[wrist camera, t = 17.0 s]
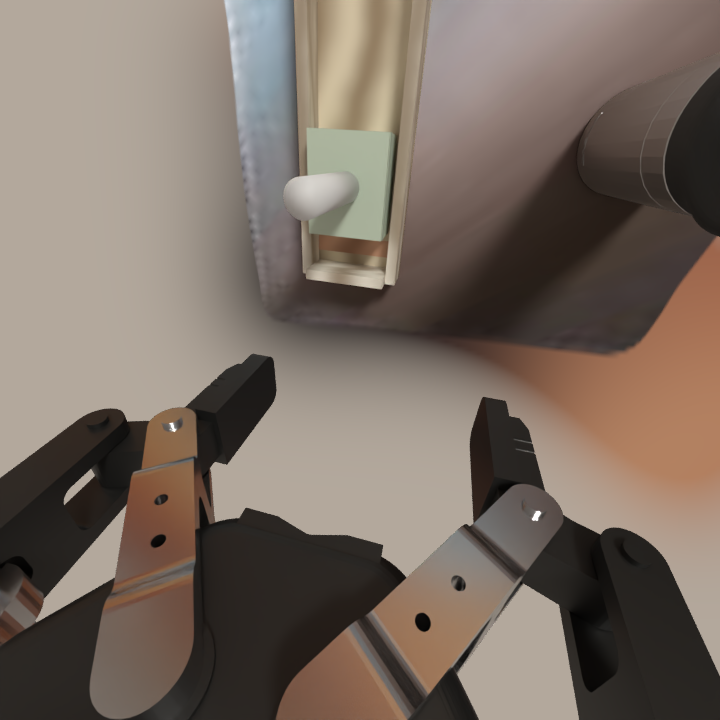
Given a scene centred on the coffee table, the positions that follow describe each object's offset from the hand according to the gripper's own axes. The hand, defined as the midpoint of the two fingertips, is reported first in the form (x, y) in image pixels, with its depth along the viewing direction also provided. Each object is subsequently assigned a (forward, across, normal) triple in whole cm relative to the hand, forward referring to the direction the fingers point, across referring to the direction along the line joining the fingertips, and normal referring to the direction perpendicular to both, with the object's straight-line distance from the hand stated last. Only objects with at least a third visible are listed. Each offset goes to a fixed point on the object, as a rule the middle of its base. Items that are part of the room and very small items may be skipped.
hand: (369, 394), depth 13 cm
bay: (+34, +9, -11) cm, 37 cm away
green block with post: (+33, +9, -4) cm, 34 cm away
